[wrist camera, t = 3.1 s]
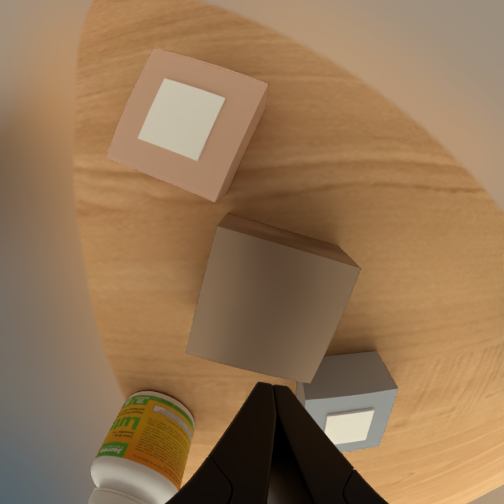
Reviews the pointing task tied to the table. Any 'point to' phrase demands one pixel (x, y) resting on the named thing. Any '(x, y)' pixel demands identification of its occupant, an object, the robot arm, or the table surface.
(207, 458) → the robot arm
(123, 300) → the table surface
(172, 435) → the supplement bottle
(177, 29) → the table surface
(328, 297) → the walnut block
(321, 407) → the grey cream-patch block
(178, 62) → the tan cream-patch box
